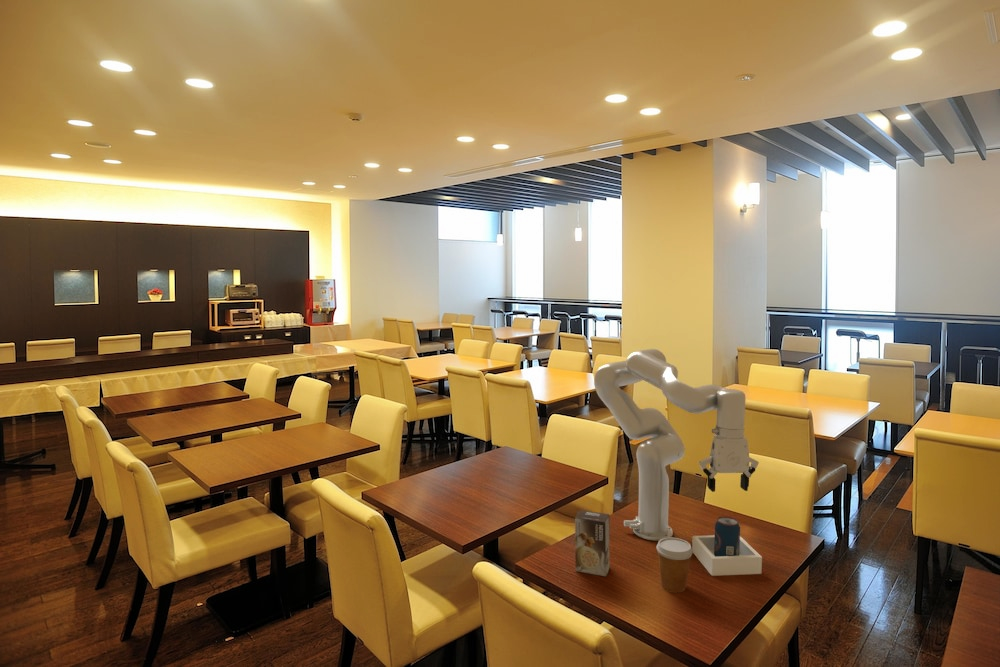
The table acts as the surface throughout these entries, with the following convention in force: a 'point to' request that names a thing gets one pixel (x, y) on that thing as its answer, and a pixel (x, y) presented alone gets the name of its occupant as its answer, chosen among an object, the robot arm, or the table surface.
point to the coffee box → (592, 542)
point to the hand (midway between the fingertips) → (727, 489)
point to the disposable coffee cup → (674, 563)
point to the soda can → (727, 537)
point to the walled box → (726, 558)
